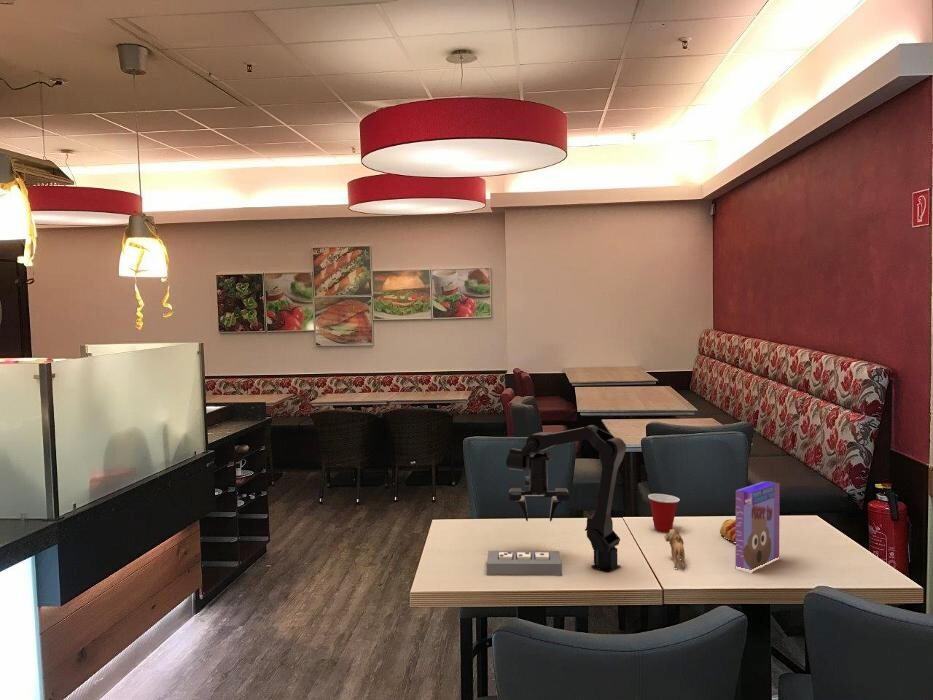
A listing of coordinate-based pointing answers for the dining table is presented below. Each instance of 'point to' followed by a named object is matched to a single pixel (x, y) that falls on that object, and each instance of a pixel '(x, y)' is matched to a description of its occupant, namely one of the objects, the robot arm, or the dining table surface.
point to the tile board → (524, 564)
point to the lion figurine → (676, 547)
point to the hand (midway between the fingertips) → (538, 521)
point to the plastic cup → (663, 511)
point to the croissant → (729, 530)
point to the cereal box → (757, 524)
